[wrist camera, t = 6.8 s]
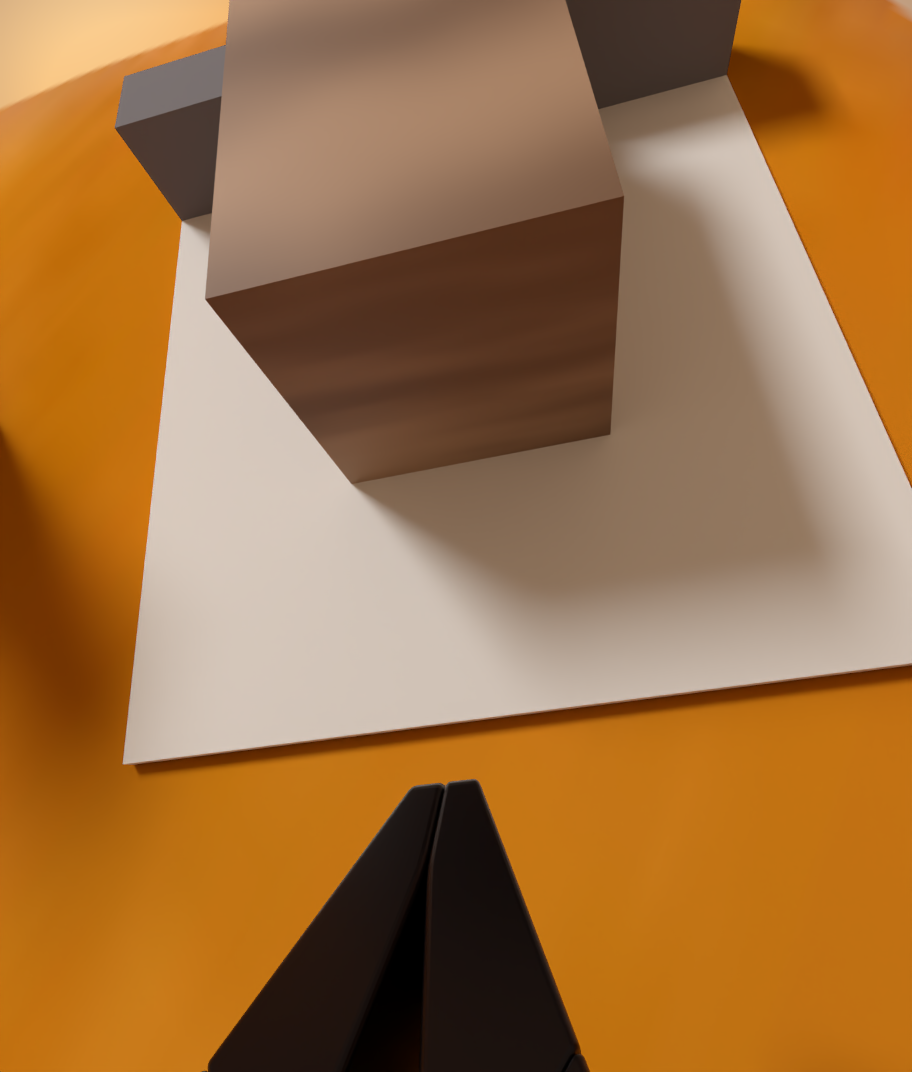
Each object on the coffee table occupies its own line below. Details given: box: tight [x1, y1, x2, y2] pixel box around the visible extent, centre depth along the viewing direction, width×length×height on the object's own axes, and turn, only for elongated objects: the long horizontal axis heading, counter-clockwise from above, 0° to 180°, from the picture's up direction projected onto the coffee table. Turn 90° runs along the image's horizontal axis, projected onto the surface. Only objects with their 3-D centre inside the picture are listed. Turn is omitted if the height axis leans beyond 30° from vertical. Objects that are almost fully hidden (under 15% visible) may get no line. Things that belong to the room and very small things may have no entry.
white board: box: [115, 0, 912, 765], centre depth 19 cm, size 25×22×4 cm
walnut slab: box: [205, 0, 624, 484], centre depth 18 cm, size 14×8×8 cm, turn 6°
